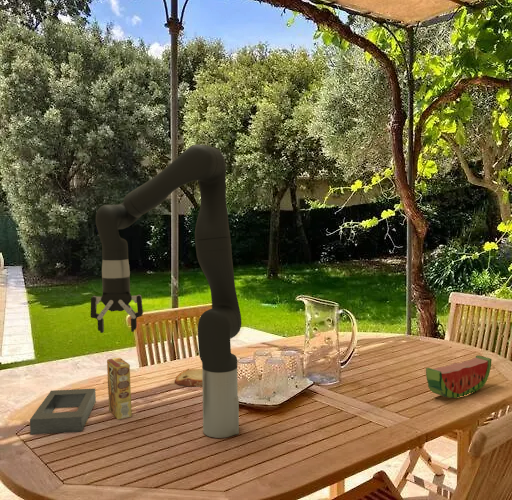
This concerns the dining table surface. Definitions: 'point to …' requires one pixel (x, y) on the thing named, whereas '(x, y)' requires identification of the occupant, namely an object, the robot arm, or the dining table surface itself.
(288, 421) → the dining table surface
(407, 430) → the dining table surface
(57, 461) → the dining table surface
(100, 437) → the dining table surface
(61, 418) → the rectangular frame
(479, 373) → the fruit slice
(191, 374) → the bread slice
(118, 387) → the candy box
